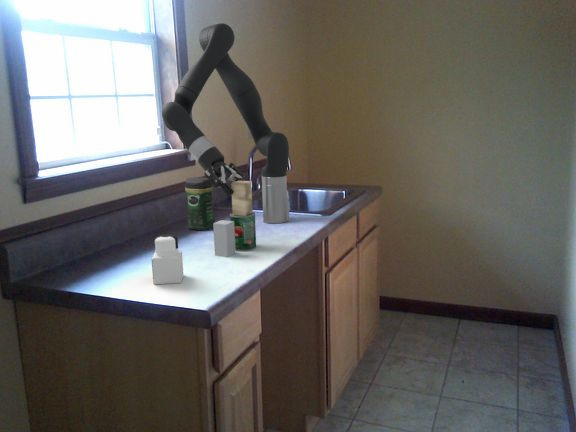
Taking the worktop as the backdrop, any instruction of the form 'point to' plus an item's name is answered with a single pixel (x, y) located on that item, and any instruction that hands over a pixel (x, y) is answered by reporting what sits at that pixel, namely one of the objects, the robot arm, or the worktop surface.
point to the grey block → (224, 238)
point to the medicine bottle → (167, 260)
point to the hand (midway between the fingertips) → (239, 192)
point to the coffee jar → (199, 203)
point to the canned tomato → (244, 232)
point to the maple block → (241, 198)
